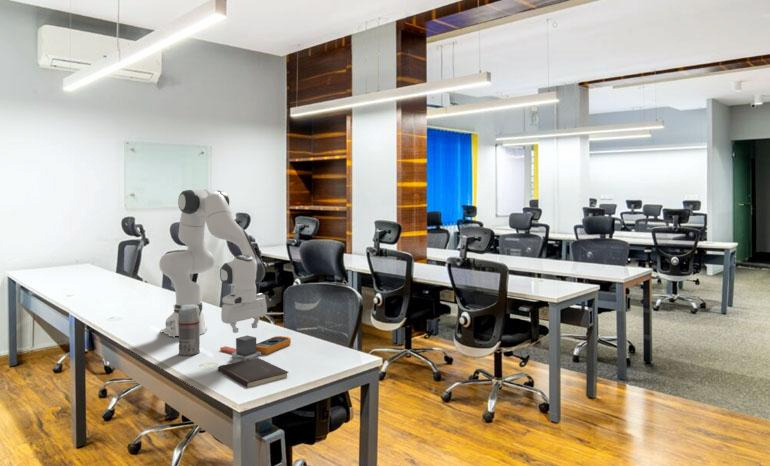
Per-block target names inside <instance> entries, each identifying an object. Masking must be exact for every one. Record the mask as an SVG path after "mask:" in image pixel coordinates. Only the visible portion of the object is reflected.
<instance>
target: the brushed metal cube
mask: <svg viewBox="0 0 770 466" xmlns="http://www.w3.org/2000/svg"><path fill="white" fill-rule="evenodd" d="M256 344H257V337H255V336H251V335H243V336H240V337H236V338H235V349H236V353H238V354H242V355H249V354H252V353H255V352H257V349H256Z"/></svg>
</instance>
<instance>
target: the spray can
mask: <svg viewBox="0 0 770 466" xmlns="http://www.w3.org/2000/svg"><path fill="white" fill-rule="evenodd" d="M178 316H179V337H178V354H179V355H180V356H186V355H187V357H188V356H194V355H197V354H199V353H201V352H200V351H201V350H200V343H201V342H200V335H201V334H200V333H199V331H200V329H199V322H200V318H199V306H198V305H196V304H189V305H182V306H181V308H180V310H179V315H178Z"/></svg>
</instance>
